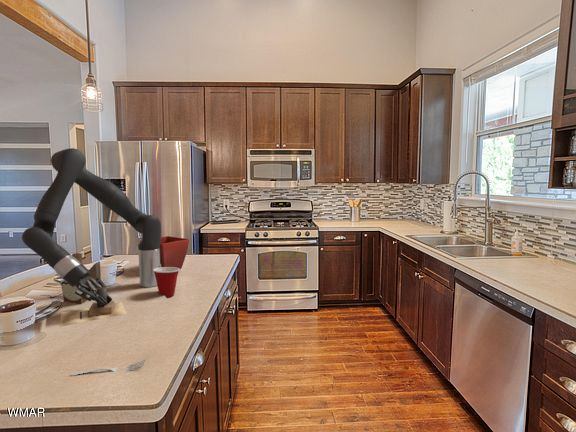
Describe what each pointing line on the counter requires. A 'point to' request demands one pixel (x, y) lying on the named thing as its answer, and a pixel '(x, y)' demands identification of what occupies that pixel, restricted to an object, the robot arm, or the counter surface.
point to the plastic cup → (166, 280)
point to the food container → (70, 293)
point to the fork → (113, 368)
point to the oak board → (83, 315)
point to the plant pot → (172, 251)
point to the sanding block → (100, 310)
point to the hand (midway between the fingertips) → (107, 303)
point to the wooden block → (94, 269)
